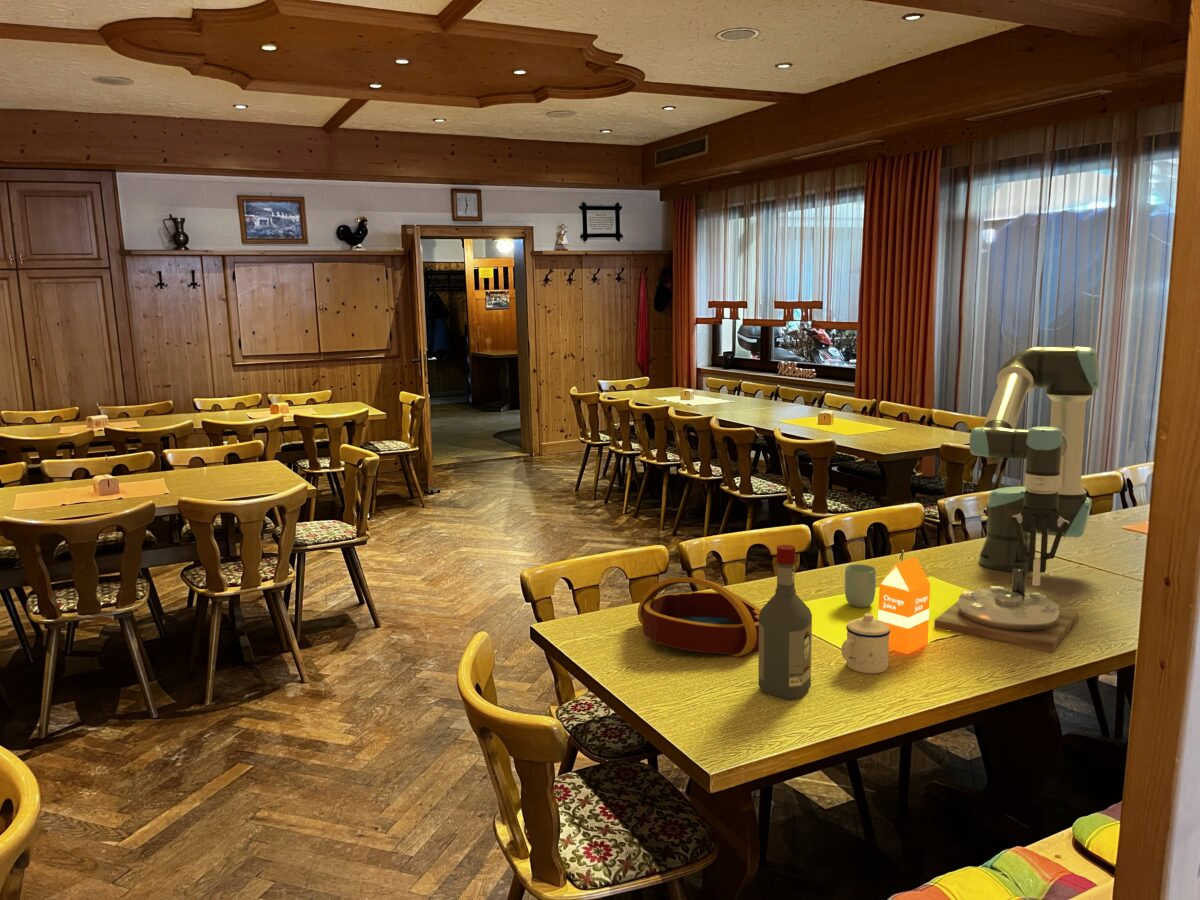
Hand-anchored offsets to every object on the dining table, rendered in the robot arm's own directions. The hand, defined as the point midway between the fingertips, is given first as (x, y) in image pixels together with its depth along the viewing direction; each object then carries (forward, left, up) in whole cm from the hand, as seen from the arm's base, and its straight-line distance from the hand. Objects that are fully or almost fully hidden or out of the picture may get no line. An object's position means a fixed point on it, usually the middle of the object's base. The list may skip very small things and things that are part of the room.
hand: (1036, 584), depth 215 cm
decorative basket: (+62, -59, -9) cm, 86 cm away
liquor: (+75, -29, -9) cm, 81 cm away
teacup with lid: (+55, -21, -9) cm, 60 cm away
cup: (+17, -38, -9) cm, 43 cm away
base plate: (+9, -4, -8) cm, 13 cm away
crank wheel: (+9, -4, -6) cm, 12 cm away
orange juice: (+37, -19, -9) cm, 43 cm away
